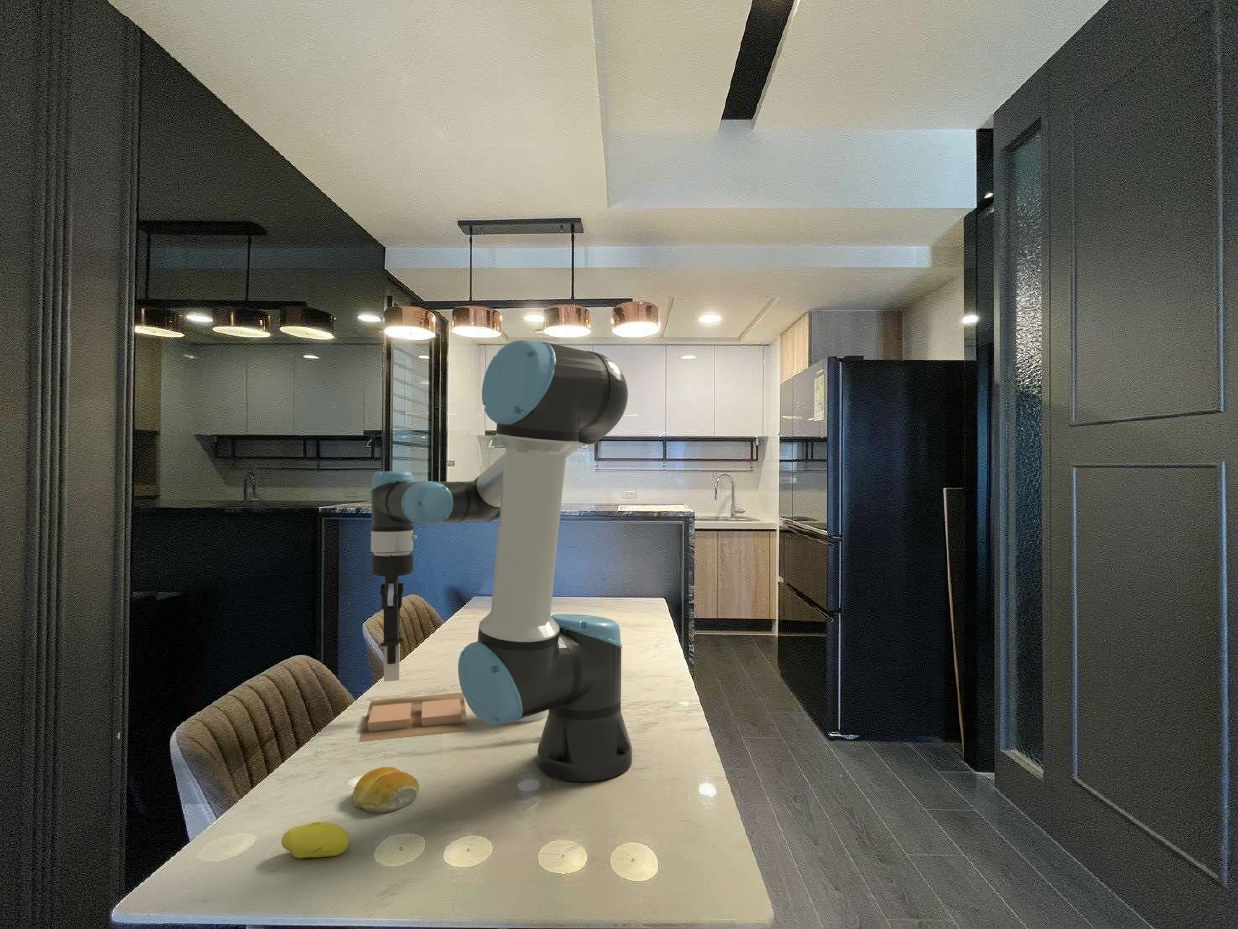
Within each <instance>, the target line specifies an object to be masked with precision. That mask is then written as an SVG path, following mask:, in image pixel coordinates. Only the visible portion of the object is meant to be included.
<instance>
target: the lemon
mask: <svg viewBox="0 0 1238 929" xmlns="http://www.w3.org/2000/svg"><path fill="white" fill-rule="evenodd" d="M280 841H281V842H280V844H281V845H282V846H281V847H282V848H284V850H286V851H288V852H290V853H291V855H292V856H293V857H295V858H297V859H305V858H323V857H325V858H326V857H327V858H328V857H337V856H339V855H341V854H342V853H344V852H345V851H346V849H347V848H348V846H349V843H350V836H349V833H348V831H346V829H345V828H343V826H341V825H339V824H337V823H334V822H329V821H328V822H327V821H314V822H311V823H310V822H309V823H304V824H302V825H298V826H294V827H292V828H290V829H289V830H287V831H286V832H284V834H283V835H282V837H281V839H280Z"/></svg>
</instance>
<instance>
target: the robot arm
mask: <svg viewBox="0 0 1238 929" xmlns="http://www.w3.org/2000/svg"><path fill="white" fill-rule="evenodd" d="M628 391H629V390H628V384H627V380H626V379H625V376H624V374H623V372H622V371H621V369H620V368H619V366H618V365H617V364H616V362H615V361H613V360H612V359H611V358H609V357H607V356H605V355H604V354H601V353H599V352H595V351H590V350H583V349H578V348H573V347H569V346H563V345H559V344H554V343H549V342H547V341H546V342H545V341H540V340H538V341H535V340H521V339H519V340H514V341H511V342H509V343H506V344H505V345H504V346H502V347H501V348H500V349H499V350H498V352H496V355H494V356H493V357H492V358H491V360H490V362H489V364H488V366H487V369H486V371H485V374H484V377H483V381H482V387H481V403H482V405H484V406H485V407H484V411H485V414H486V415H487V417H488V418H489V419H490V420H491V421H492V422H494V423H495V424H496V429H495V430H496V431H495V436H496V437H497V438H498V440H499V441H500V442H501V443H502V445H503V446H504V448H505V451H504V452H505V453H503V454H502V455H501V456H500V457H499V458H497V460H496V461H494V462H493V463H492V464H491V465H490V466H488V467H487V468H486V469H485V470H484V471H483V472H482V473H481V474H479V475H478V476H477V477H476V478H475V479H473V480H471V481H432V480H427V481H426V480H422V481H421V480H420V481H415V480H414V479H415V478H414V474H413V473H412V472H411V471H402V470H401V471H398V470H397V471H389V470H388V471H376V472H374V474H373V475H372V481H371V482H372V483H371V489H370V494H371V495H370V496H371V530H370V551H371V552H372V553H374V554H373V555H372V556H371V557H370V558H371V559H370V561H371V564H370V565H371V566H370V569H371V570H370V572H371V574H372V576H375V577H384V583H381V585H380V595H381V609H382V611H383V641H382V642H380V644H379V646H380V647H383V682H394V681H395V682H396V681H400V678H401V677H400V669H401V668H400V665H401V664H400V663H401V662H400V659H401V658H400V656H401V654H400V651H401V650H400V647H401V646H400V644H401V643H404V638H403V637H400V636H401V608H402V607H403V606H402V605H403V593H404V589H405V588H404V586H405V584H404V582H400V580H401V579H400V576H407V575H411V574H412V573H413V572H414V554H413V553H410V552H412V551H413V550H414V541H415V540H417V539H418V537H417V535H416V534H414V525H415V524H417V525H419V526H427V525H428V526H433V525H438V524H444V523H446V524H447V523H459V522H460V523H461V522H462V523H463V522H481V521H482V522H493V521H495V520H498V530H497V531H498V532H497V540H496V542H497V543H496V552H495V553H496V554H495V564H494V565H495V566H494V575H493V585H492V597H491V598H492V599H491V609H490V612H489V613H488V614H487V615H486V616H484V617H483V618H482V619H481V620H480V621H479V624H478V633H477V641H473V642H471V643H469V644H468V645H466V646H465V647H464V648H463V649H462V651H461V652H460V653H459V654H460V655H459V659H458V662H457V663H458V664H457V665H458V666H457V671H458V672H457V673H458V674H457V675H458V681H459V685H460V689H461V693H463V696H464V700H465V702H466V704H467V706H468V707H469V709H470V711H471V712H472V713H473V714H474V715H475V716H476V717H477V719H479V720H480V721H481V722H483V723H485V724H488V725H491V726H496V725H497V726H498V725H502V724H505V723H509V722H511V723H517V722H516V721H519V720H520V719H521V718H524V717H527V716H530V715H534V714H537V713H540V712H543V711H546V710H549V711H548V717H546V720H545V722H544V723H545V724H544V726H543V727H544V728H543V730H542V733H541V735H540V736H541V737H540V740H539V742H538V747H537V754H536V756H537V759H536V760H537V761H536V762H537V768H538V769H539V770H540V772H542V773H543V774H545V775H546V776H549V777H550V778H553V779H557V780H560V781H567V782H574V783H575V782H577V783H581V782H582V783H585V782H588V783H589V782H598V781H604V780H608V779H611V778H614V777H617V776H619V775H622V774H623V773H626V772H627V770H628V769H630V767H631V766H632V764H633V747H632V743H631V740H630V737H629V733H628V730H627V727H626V724H625V721H624V717H623V714H622V649H623V645H622V641H621V638H622V637H621V628H620V626H619V624H618V623H617V622H616V621H615V620H613V619H610V618H607V617H602V616H597V615H587V614H579V613H578V614H577V613H555V614H551V612H552V603H553V602H552V601H553V593H554V592H553V590H554V583H555V572H556V561H557V560H556V559H557V551H558V542H559V541H558V540H559V533H560V532H559V529H560V523H561V522H560V521H561V509H562V501H563V499H562V498H563V489H564V479H565V471H566V470H565V468H566V459H567V458H569V456H570V455H572V454H573V453H574V452H576V451H577V450H578V449H580V448H581V447H582V446H583V445H584V446H591V445H593V444H596V443H597V442H599V441H600V440H601V439H602V438H604V437H605V436H606V435H607V434H609V433H611V431H612V430H613V429H614V428H615V427H616V426H617V425H618V423H619V422H620V421H621V418H622V417H623V416H624V413H625V410H626V408H627V405H628V397H629V392H628Z"/></svg>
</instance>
